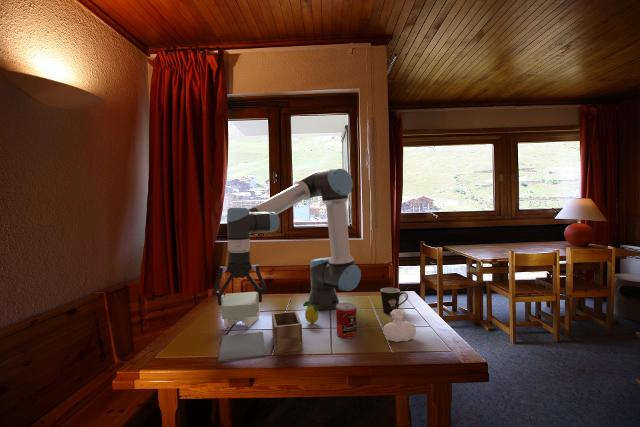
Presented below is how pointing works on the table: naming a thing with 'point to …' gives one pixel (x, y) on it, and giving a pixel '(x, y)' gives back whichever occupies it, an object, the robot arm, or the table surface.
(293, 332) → the box
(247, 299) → the lid
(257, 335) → the mat
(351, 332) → the canned food
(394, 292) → the coffee mug
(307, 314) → the lemon
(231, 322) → the cable organizer
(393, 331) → the bust
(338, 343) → the table surface
